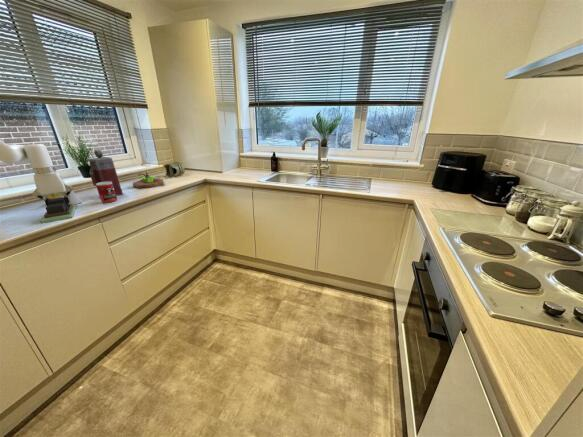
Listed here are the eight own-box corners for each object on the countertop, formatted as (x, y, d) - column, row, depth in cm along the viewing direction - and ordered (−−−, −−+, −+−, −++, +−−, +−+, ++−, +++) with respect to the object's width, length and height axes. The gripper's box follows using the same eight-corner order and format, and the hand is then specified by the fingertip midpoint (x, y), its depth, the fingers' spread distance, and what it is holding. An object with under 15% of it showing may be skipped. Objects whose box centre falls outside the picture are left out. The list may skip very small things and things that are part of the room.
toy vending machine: (96, 197, 150) (80, 151, 139) (115, 192, 159) (102, 148, 148) (103, 198, 145) (87, 151, 135) (123, 194, 154) (109, 149, 144)
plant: (136, 190, 163) (132, 173, 159) (131, 185, 177) (127, 170, 173) (167, 184, 175) (164, 169, 171) (160, 180, 189) (157, 166, 185)
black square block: (49, 216, 115) (45, 208, 113) (51, 213, 120) (48, 204, 118) (65, 214, 118) (62, 205, 116) (67, 210, 123) (64, 202, 121)
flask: (63, 204, 137) (56, 187, 133) (77, 200, 143) (71, 184, 139) (70, 205, 134) (63, 188, 130) (85, 201, 140) (79, 185, 136)
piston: (165, 177, 200) (161, 163, 196) (175, 174, 210) (172, 161, 206) (176, 178, 197) (173, 164, 192) (185, 175, 207) (183, 161, 203)
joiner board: (41, 223, 110) (38, 218, 110) (50, 210, 127) (48, 205, 126) (72, 217, 116) (70, 212, 115) (77, 206, 133) (75, 201, 132)
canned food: (105, 204, 136) (99, 185, 131) (99, 201, 140) (92, 183, 135) (120, 200, 142) (114, 182, 137) (113, 198, 146) (108, 180, 141)
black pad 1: (51, 210, 119) (47, 201, 118) (53, 207, 124) (49, 199, 122) (66, 207, 123) (63, 199, 121) (68, 204, 127) (65, 196, 125)
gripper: (68, 167, 123) (81, 200, 130) (21, 172, 114) (37, 207, 121) (66, 169, 118) (80, 204, 125) (17, 174, 109) (34, 211, 115)
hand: (59, 205), depth 123 cm, fingers closed on black pad 1, 6 cm apart
